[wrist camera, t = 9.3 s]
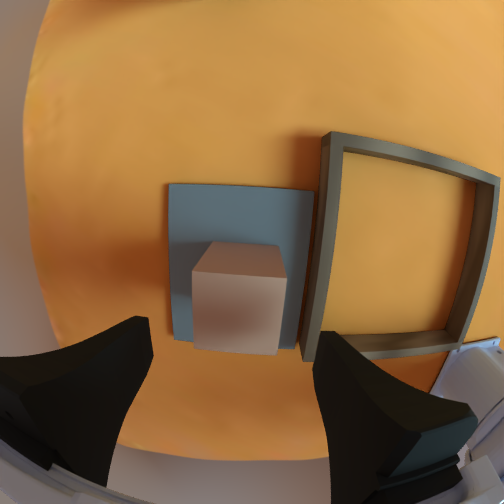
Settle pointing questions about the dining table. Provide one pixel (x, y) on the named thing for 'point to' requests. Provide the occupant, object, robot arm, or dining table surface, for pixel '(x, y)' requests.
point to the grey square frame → (325, 241)
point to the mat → (237, 240)
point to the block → (238, 298)
